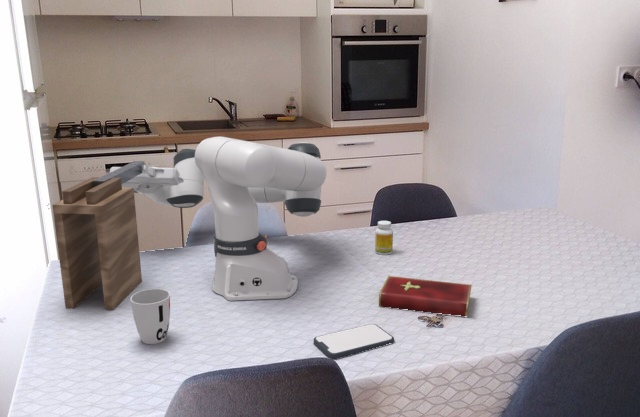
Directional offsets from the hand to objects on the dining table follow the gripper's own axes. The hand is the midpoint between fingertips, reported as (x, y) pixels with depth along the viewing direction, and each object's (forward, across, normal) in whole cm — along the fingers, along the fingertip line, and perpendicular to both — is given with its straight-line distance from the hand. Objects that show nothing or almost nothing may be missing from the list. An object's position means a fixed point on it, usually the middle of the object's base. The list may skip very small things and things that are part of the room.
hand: (135, 167), depth 169 cm
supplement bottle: (-25, -71, -18) cm, 77 cm away
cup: (+27, -21, -48) cm, 59 cm away
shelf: (+8, 0, -37) cm, 38 cm away
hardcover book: (+6, -81, -36) cm, 89 cm away
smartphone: (+25, -64, -47) cm, 84 cm away
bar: (+8, 0, -6) cm, 10 cm away
